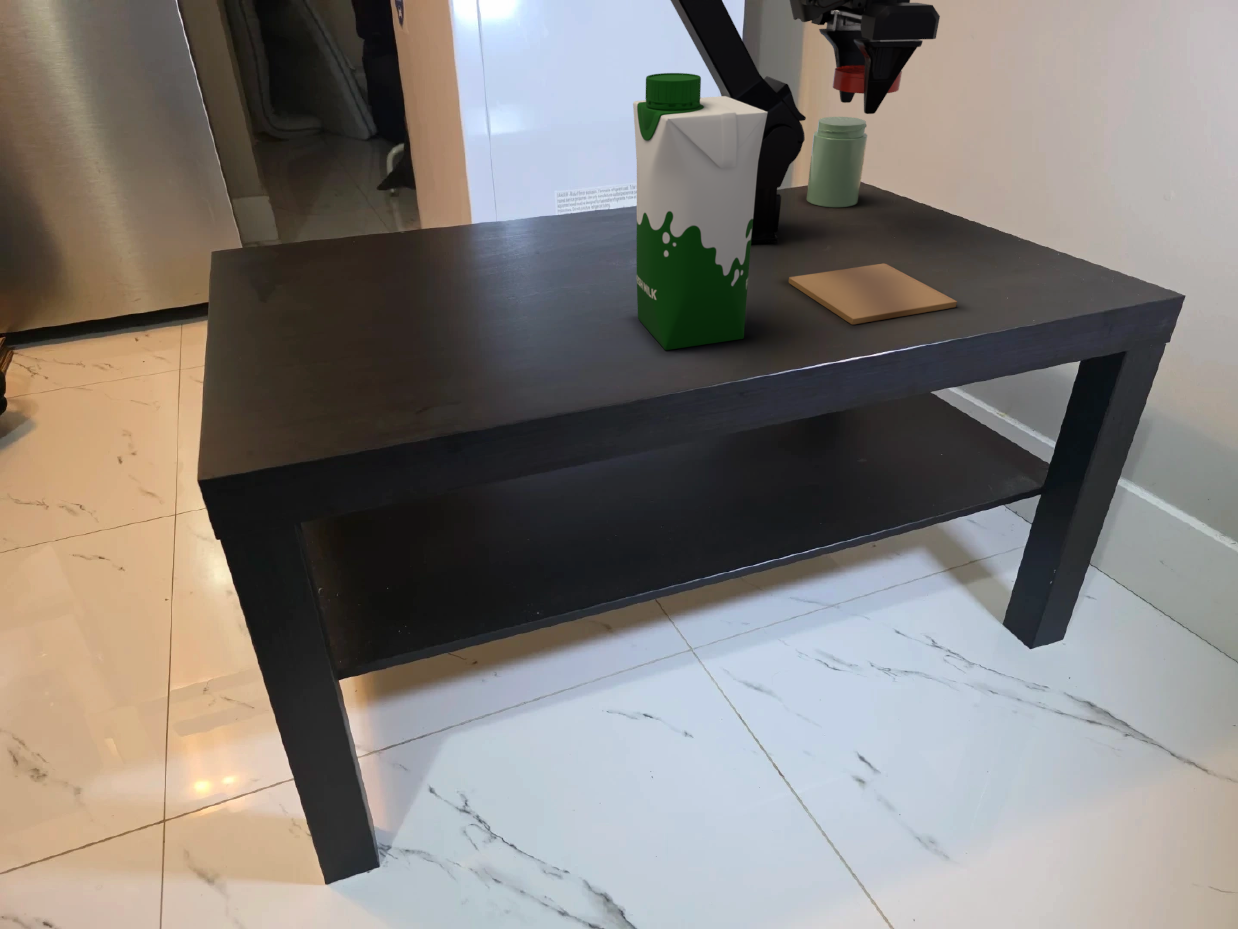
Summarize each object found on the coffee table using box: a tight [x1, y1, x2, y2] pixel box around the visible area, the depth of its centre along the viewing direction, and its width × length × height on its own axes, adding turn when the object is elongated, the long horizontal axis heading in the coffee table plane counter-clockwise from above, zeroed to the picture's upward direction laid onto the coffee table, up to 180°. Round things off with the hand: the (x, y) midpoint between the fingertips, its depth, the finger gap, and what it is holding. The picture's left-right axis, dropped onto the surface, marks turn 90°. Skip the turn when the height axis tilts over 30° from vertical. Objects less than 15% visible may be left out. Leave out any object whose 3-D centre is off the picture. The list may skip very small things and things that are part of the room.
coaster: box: [788, 262, 958, 326], centre depth 76 cm, size 11×11×1 cm
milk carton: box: [632, 72, 768, 351], centre depth 65 cm, size 9×9×20 cm
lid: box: [832, 65, 903, 95], centre depth 85 cm, size 7×7×2 cm
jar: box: [805, 116, 868, 208], centre depth 101 cm, size 6×6×10 cm
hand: (857, 107), depth 87 cm, fingers closed on lid, 6 cm apart
